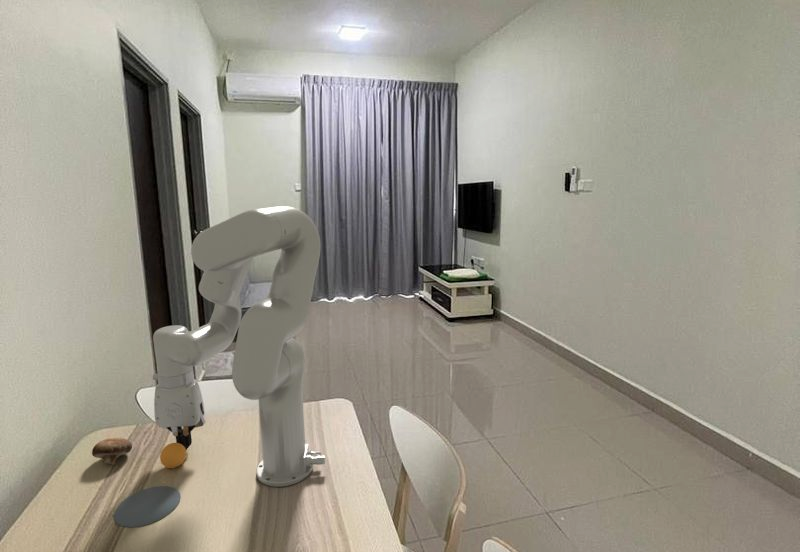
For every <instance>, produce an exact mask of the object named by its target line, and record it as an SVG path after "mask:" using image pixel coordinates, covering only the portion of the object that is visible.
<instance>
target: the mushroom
mask: <svg viewBox="0 0 800 552" xmlns="http://www.w3.org/2000/svg"><path fill="white" fill-rule="evenodd" d="M132 449H133V444H132V442H131V441H130V440H128V439H126V438H122V437H115V438H114V437H111V438H106V439H103V440H100V441H99V442H98V443H96V444H95V445H93V448H92V451H91V455H92V457H94V458H97V459H98V458H99V459H101V460H102V462H103V463H105V464H108V465H112V466H116V462H117V459H118V458H119V457H120V456H123V455H126V454H128V453H130V452H131V450H132Z"/></svg>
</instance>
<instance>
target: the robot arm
mask: <svg viewBox="0 0 800 552" xmlns="http://www.w3.org/2000/svg"><path fill="white" fill-rule="evenodd" d="M320 237H321V236H320V233H319V231H318V229H317V226H316V224H315V223H314V221H313V220H312V218H310V216H309V215H308V214H307V213H306V212H304V211H302V210H301V209H299V208H296V207H293V206H286V205H285V206H284V205H281V206H279V205H277V206H271V207H270V206H269V207H263V208H260V207H259V208H253V209H249V210H246V211H244V212H241V213H238V214H236V215H234V216H232V217H230V218H228V219H225V220H224V221H221V222H220V223H217V224H215V225H213V226H210V227H208V228H206V229H204V230H202V231H201V232H200V233H198V234H197V235H196V237H195V238H194V240H193V242H192V245H191V250H190V251H191V252H190V253H191V254H190V255H191V259H192V261H193V263H194V264H195V266H196V267H197V268H198V269H199V270H201V271H203V273H202V275H201V279H200V282H199V285H198V291H199V293H200V296H202V297H203V298H204V299H205V300H207V301H209V302H211V303H214V308H213V311H212V314H211V317H210V319H209V321H208V323H206V324H204V325H202V326H200V327H197V328H195V329H193V330H190V331H189V330H188V328H187V327H186V326H183V325H178V324H177V325H167V326H164V327H160V328H158V329H156V330H155V331H154V333H153V335H152V341H153V347H154V355H155V356H154V357H155V363H156V370H157V373H154V374H152V379H153V380H156V381H157V384H156V386H155V389H154V399H153V401H154V403H153V406H154V420H155V424H156V426H158V428H161V429H167V430H168V431H170V433H172V435H173V437H175V441H176V442H175V443H180V444H182V445H183V446H184V447H185V449H186V451H188V449H189V448H190V446H191V445H192V443H193V439H192V433H191V432H192V431H193V430H194V429H195V428H199V427H203V426H204V424H205V423H206V420H205V417H204V416H205V406H204V400H203V395H202V392H201V388H200V387H201V386H200V385H199V382H198V380H197V379H195V374H194V367H196V366H198V365H201V364H203V363H204V362H206V361H208V360H210V359H211V358H213V357H215V356H217V355H218V354H220V353H222V352H224V351H225V350H226V349H228V348H229V347H230V346H231V344H232V342H233V341H234V340H235V337H236V334H237V337H236V343H235V349H234V355H233V361H232V367H231V368H232V370H231V378H232V382H233V386H234V388H235V390H236V391H237V393H238V394H239V395H240V396H242V397H243V398H245V399H247V400H251V401H257V400H258V412H259V413H258V414H259V426H260V439H261V440H260V441H261V453H262V460H261V461H260V462H259V463H258V465H257V466H256V477H257V479H258V480H259V482H261V484H262V483H263V484H264V485H266V486H268V487H269V486H270V487H274V488H275V487H276V488H277V487H279V488H282V487H287V486H292V485H294V484H297V483H300V482H301V481H303V480H305V479H306V478H307V477H308V476H309V475H310V474H311V473H312V472H313V468H314V465H316V466H318V465H319V466H320V465H326V455H323V454H322V451H321V450H313V451H312V450H311V449H309V443H306V436H305V433H306V432H305V416H304V397H303V392H304V391H303V381H304V374H305V373H304V371H305V355H304V351H303V348H302V346H301V344H300V343H299V342H298V340H297V339H295V338H294V337H296V336H297V335H299V333H300V332H302V330H303V329H304V328H305V327H306V324H307V321H308V317H309V312H310V311H309V310H310V305H311V302H312V296H313V293H314V292H313V290H314V285H315V281H316V276H317V270H318V266H319V263H320V262H319V261H320V258H321V256H320V255H321V247H322V246H321V238H320ZM277 250H281V252H280V256H279V258H278V260H277V262H276V265H275V267H274V270H273V275H272V281H271V286H270V289H269V293H268V296H267V297H266V298H265V299H264V300H261V301H259V302H257V303H255V304H254V305H252V306H250V308H248V309H247V311H245V313H244V314H243V316H242V304H241V301H240V299H239V297H240V294H241V291H242V289H243V286H244V284H245V281H246V278H247V276H248V273H249V270H250V268H251V265H252V262H253V260H254V258H256V257H258V256H261V255H265V254H268V253H271V252H274V251H277Z"/></svg>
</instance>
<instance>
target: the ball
mask: <svg viewBox="0 0 800 552" xmlns="http://www.w3.org/2000/svg"><path fill="white" fill-rule="evenodd" d="M159 455H160V456H159V459H160V460H159V461H160V462H161V464H162V465H163V466H164V467H165V468H168V469H173V468H177V467H179V466H181V465H182V464H183V463H184V462H185V460H186V458H187V450H186V449H185V447H184V446H183V445H182V444H180V443H176V442H171V443H169V444H167V445H166V446H164V448H162V451H161V452H160V454H159Z"/></svg>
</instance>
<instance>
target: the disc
mask: <svg viewBox="0 0 800 552" xmlns="http://www.w3.org/2000/svg"><path fill="white" fill-rule="evenodd" d="M181 498H182V497H181V492H180V490H179V489H177V488H175V487H174V486H170V485H157V486H156V485H155V486H150V487H147V488H144V489H142V490H139V491H137V492H135V493H132V494H131V495H129V496H128V497H126V498H125V499H124V500H123V501H121V502H120V503H119V505H118V506H117V507H116V508H115V511H114V513H113V518H114V521H115V522H116V524H117V525H119V526H121V527H125V528H138V527H144V526H147V525H150V524H153V523H156V522H158V521H160V520H162V519H164V518H165V517H167V516H168V515H169V514H171V513H172V512H173V511H174V510H175V509H176V508H177V507H178V505H179V503H180V502H181Z"/></svg>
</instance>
